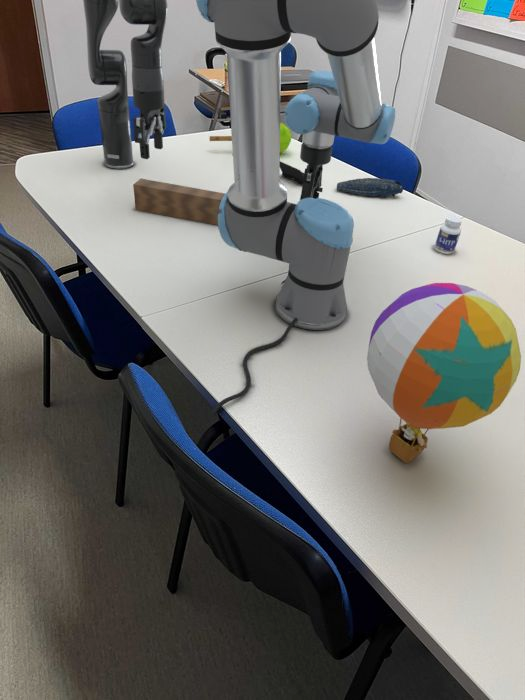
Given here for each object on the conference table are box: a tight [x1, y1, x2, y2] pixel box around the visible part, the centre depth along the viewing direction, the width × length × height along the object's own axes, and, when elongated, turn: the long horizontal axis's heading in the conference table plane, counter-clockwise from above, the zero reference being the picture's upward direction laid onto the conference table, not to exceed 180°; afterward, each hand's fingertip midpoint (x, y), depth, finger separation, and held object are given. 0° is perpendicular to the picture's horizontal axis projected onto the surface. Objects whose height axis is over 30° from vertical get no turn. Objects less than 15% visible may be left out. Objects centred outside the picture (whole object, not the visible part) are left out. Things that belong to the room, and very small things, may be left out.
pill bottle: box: [434, 215, 463, 255], centre depth 137 cm, size 5×5×9 cm
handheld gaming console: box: [280, 160, 304, 185], centre depth 171 cm, size 12×7×10 cm
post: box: [132, 178, 227, 226], centre depth 141 cm, size 53×5×7 cm, turn 75°
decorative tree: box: [209, 122, 292, 154], centre depth 187 cm, size 18×10×30 cm
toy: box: [366, 282, 522, 464], centre depth 73 cm, size 20×20×30 cm
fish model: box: [336, 177, 404, 198], centre depth 166 cm, size 7×21×5 cm, turn 84°
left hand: (152, 153), depth 137 cm, fingers open, 8 cm apart
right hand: (306, 225), depth 138 cm, fingers open, 13 cm apart
